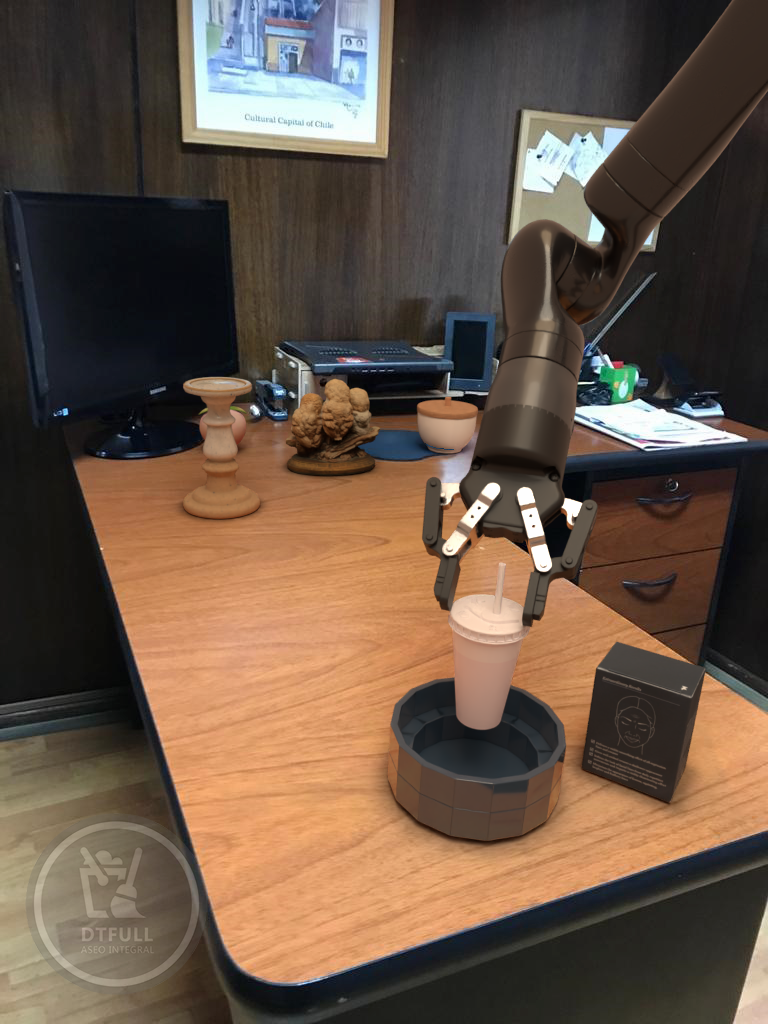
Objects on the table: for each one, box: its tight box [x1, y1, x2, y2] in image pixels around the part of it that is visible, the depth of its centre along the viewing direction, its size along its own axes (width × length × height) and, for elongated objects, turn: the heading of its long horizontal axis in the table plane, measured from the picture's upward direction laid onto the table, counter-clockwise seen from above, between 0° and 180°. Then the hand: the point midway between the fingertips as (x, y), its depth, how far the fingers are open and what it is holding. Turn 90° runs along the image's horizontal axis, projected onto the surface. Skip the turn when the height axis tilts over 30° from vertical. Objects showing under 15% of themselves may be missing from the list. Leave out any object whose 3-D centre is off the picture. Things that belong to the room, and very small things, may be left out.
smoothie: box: [447, 562, 531, 730], centre depth 61 cm, size 6×6×14 cm
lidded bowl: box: [416, 396, 479, 454], centre depth 162 cm, size 13×13×11 cm
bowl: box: [386, 676, 567, 842], centre depth 65 cm, size 14×14×6 cm
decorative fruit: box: [198, 405, 248, 445], centre depth 153 cm, size 9×8×10 cm
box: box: [581, 641, 707, 803], centre depth 67 cm, size 8×6×11 cm
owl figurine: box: [285, 378, 381, 477], centre depth 145 cm, size 18×12×17 cm, turn 106°
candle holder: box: [182, 376, 261, 520], centre depth 122 cm, size 12×12×20 cm
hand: (485, 614), depth 58 cm, fingers closed on smoothie, 5 cm apart
